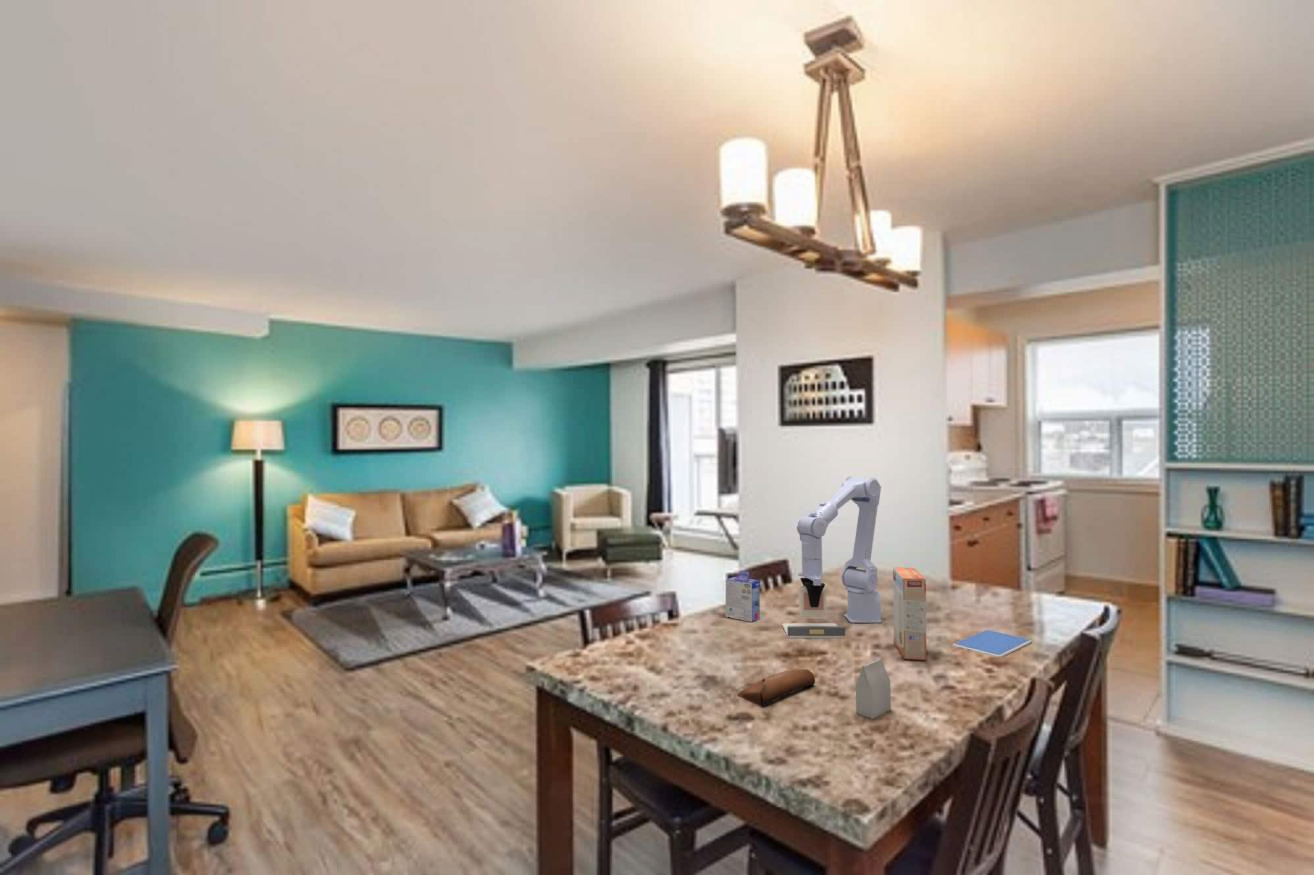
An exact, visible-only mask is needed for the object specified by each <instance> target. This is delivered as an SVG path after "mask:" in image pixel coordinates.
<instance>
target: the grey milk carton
mask: <svg viewBox="0 0 1314 875" xmlns="http://www.w3.org/2000/svg"><path fill="white" fill-rule="evenodd" d="M891 701H892V700H891V678H890V677H889V675H888V672H887V669H886V667H885V664H884V661H883V659H882V658H880V659H879V658H878V659H876V660H874V661H871V662H870V663H867V664H864V665H862V666H861V670H860V674H859V676H858V678H857V681H856V683H855V710H856V711H855V713H856V712H857V713H856V714H858V713H859V715H861V716H864V715H865V716H864V717H867V718H869V717H870V718H869V719H875V718H876V717H878V715H879V716H881V715H883V714H885V713H887V712H888V711H890V709H892V706H891V704H892V703H891ZM886 711H887V712H886Z"/></svg>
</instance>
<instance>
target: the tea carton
mask: <svg viewBox="0 0 1314 875" xmlns="http://www.w3.org/2000/svg"><path fill="white" fill-rule="evenodd" d="M826 591H827V589H826V588H825V587H824V589H823V591H822V593H821V596H820V602H819V606H818V607H811V606H810V603H809V596H808V592H807V589H806V586H803V585H798V613H799V615H800V616H801V618H806V617H807V618H826V617H827V592H826Z"/></svg>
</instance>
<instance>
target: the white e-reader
mask: <svg viewBox="0 0 1314 875" xmlns="http://www.w3.org/2000/svg"><path fill="white" fill-rule="evenodd" d="M781 626H783V627H782V628H784V629H783V630H785V631H784V633H785V632H786V633H785V634H787V635H786V636H788V637H787V638H788V639H846V627H845V626H844V625H837V623H835V622H834V623H831V622H830V623H829V622H827V623H825V622H823V623H821V622H820V623H818V622H817V623H815V622H814V623H813V622H812V623H811V622H809V623H807V622H806V623H801V622H800V623H799V622H798V623H794V622H793V623H784V622H783V623H781Z"/></svg>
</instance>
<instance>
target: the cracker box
mask: <svg viewBox="0 0 1314 875" xmlns="http://www.w3.org/2000/svg"><path fill="white" fill-rule="evenodd" d="M892 579H893V581H892V585H893V586H892V587H893V588H892V590H893V591H892V592H893V595H892V596H893V597H892V599H893V642H894V645H895V646H896V649H897V650H898V651H899V653H900V656H901V657H902V659H903V660H911V661H912V660H913V661H927V584H926V583H927V582H926V581H927V580H926V578H925V576H923V575H922V574H921V573H920V572H919V571H917V569H915V568H914V567H893V569H892Z"/></svg>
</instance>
